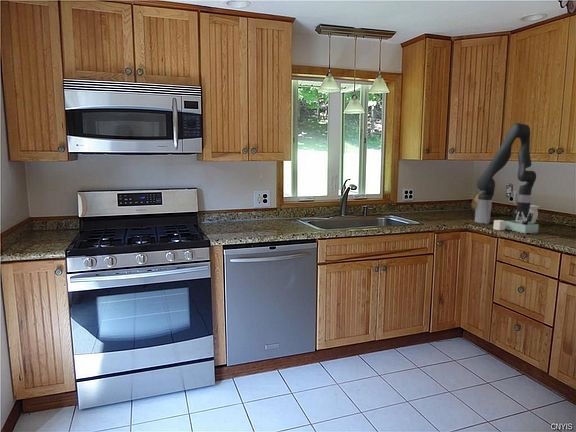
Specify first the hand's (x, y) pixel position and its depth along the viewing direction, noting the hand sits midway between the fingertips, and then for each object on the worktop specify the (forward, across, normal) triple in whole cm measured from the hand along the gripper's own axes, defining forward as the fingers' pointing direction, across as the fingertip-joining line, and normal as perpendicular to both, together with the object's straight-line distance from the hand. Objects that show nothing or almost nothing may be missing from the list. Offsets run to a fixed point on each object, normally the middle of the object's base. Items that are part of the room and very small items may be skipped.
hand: (521, 227), depth 267 cm
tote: (+3, 0, 0) cm, 3 cm away
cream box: (+3, +8, +10) cm, 13 cm away
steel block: (0, 0, 0) cm, 0 cm away
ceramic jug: (+3, +62, -29) cm, 68 cm away
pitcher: (+3, +22, -32) cm, 39 cm away
